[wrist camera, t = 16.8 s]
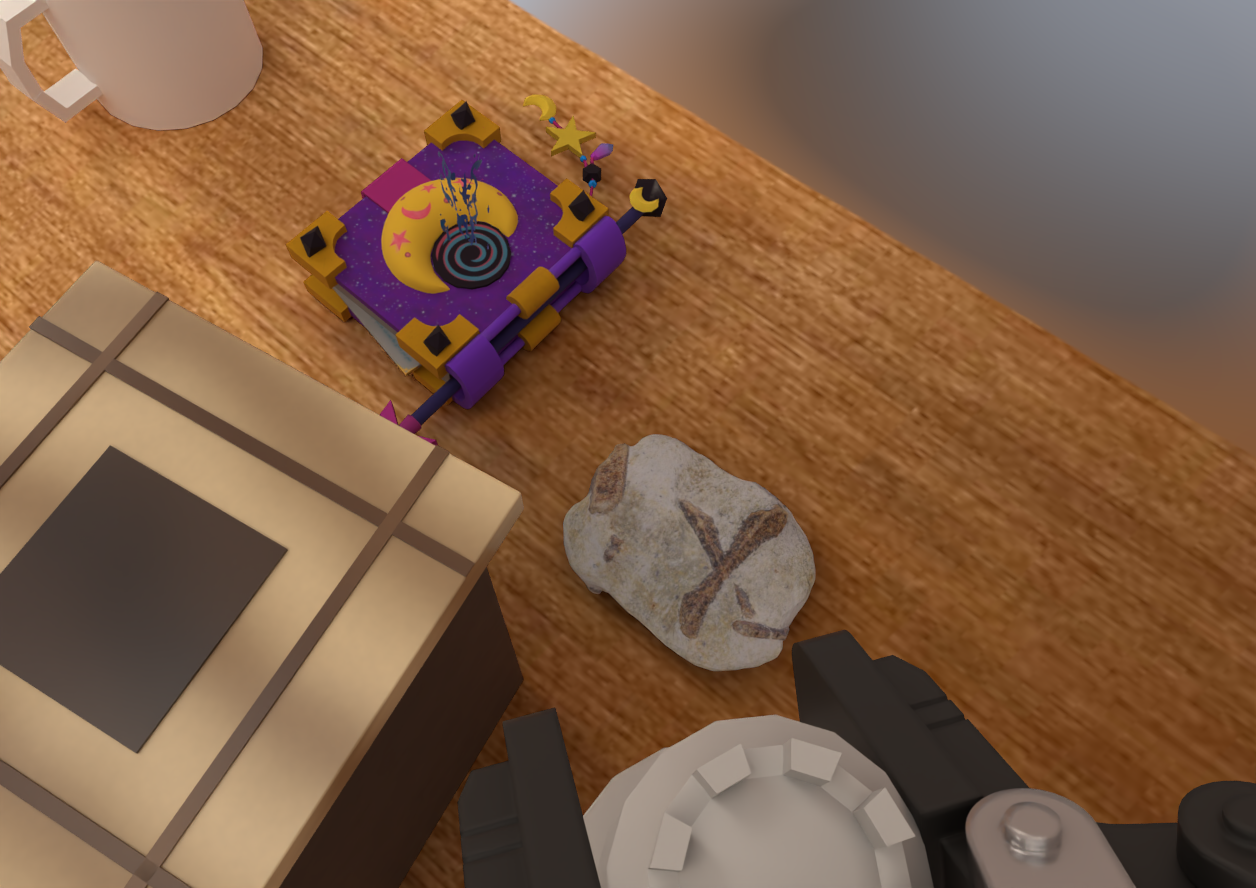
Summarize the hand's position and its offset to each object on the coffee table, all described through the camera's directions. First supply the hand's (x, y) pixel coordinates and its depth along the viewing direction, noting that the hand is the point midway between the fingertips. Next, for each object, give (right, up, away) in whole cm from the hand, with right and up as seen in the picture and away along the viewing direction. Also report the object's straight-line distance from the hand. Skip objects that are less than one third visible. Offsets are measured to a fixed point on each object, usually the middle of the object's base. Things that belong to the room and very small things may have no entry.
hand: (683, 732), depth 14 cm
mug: (-29, +26, +47) cm, 61 cm away
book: (-10, +12, +42) cm, 45 cm away
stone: (+2, -2, +36) cm, 36 cm away
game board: (-13, 0, +12) cm, 18 cm away
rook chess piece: (0, -3, +3) cm, 5 cm away
